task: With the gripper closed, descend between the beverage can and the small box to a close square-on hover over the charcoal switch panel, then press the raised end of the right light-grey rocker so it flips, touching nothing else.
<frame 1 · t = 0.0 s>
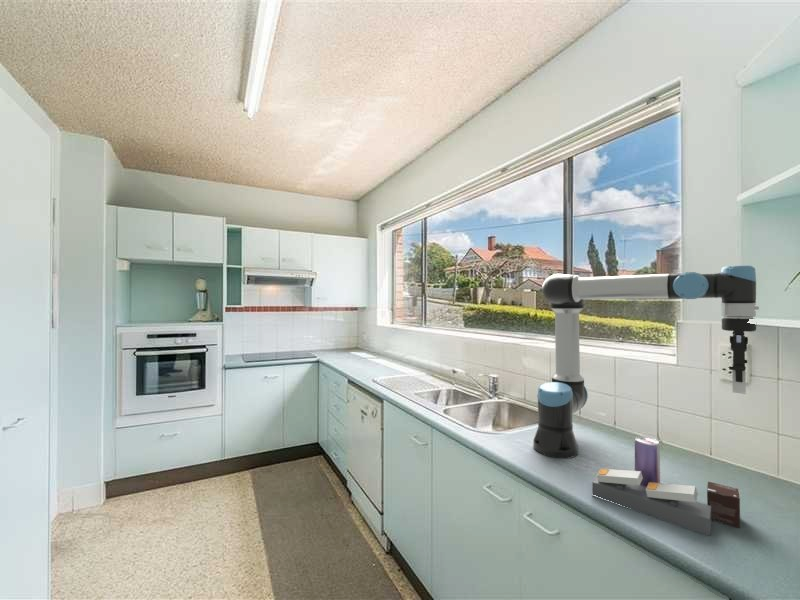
hand: (738, 388, 107), 28 cm above the worktop, fingers open, 13 cm apart
rocker right: (671, 491, 91), point 6 cm above the worktop, hinge at -14.0°
box: (723, 519, 90), on the worktop
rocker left: (619, 476, 99), point 6 cm above the worktop, hinge at -14.0°
beverage can: (647, 493, 102), on the worktop
switch panel: (648, 508, 95), on the worktop
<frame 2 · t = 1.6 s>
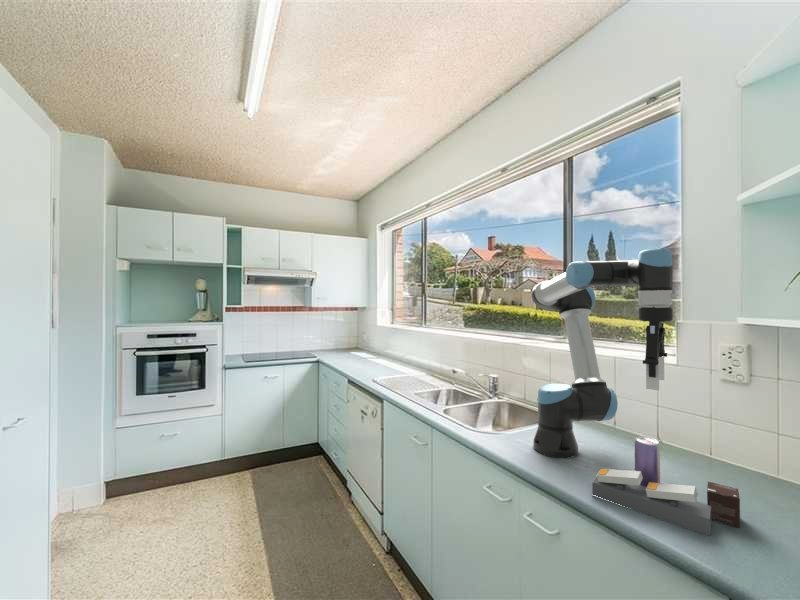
hand: (655, 384, 98), 32 cm above the worktop, fingers open, 13 cm apart
nothing on the worktop moved.
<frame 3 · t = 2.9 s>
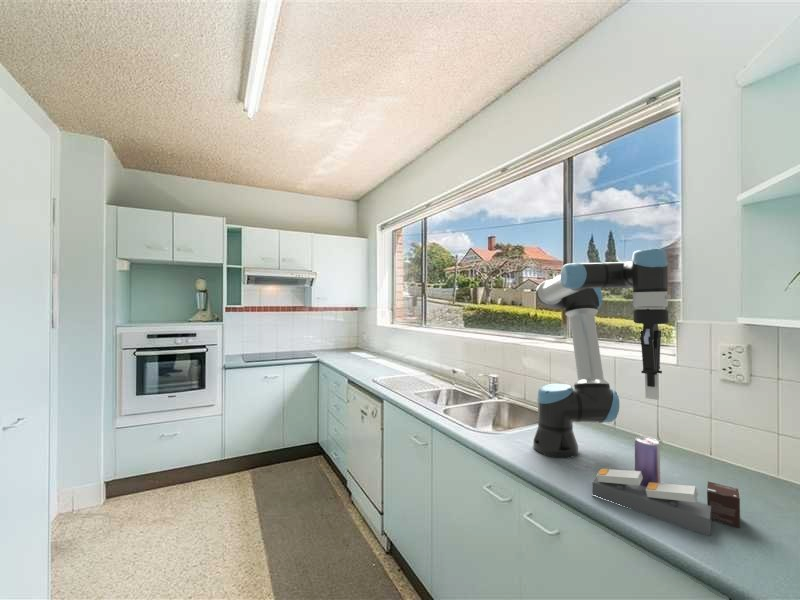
hand: (652, 398, 94), 29 cm above the worktop, fingers closed
nothing on the worktop moved.
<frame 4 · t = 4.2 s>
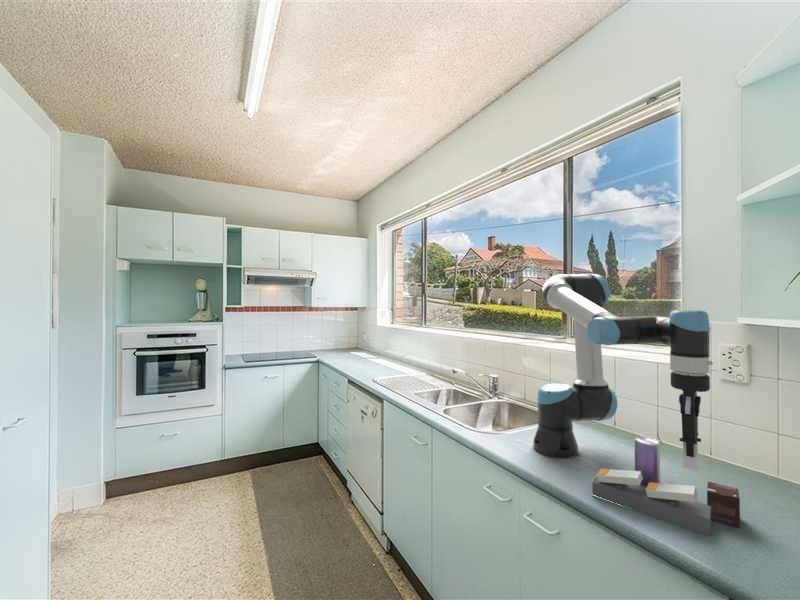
hand: (690, 467, 88), 14 cm above the worktop, fingers closed
nothing on the worktop moved.
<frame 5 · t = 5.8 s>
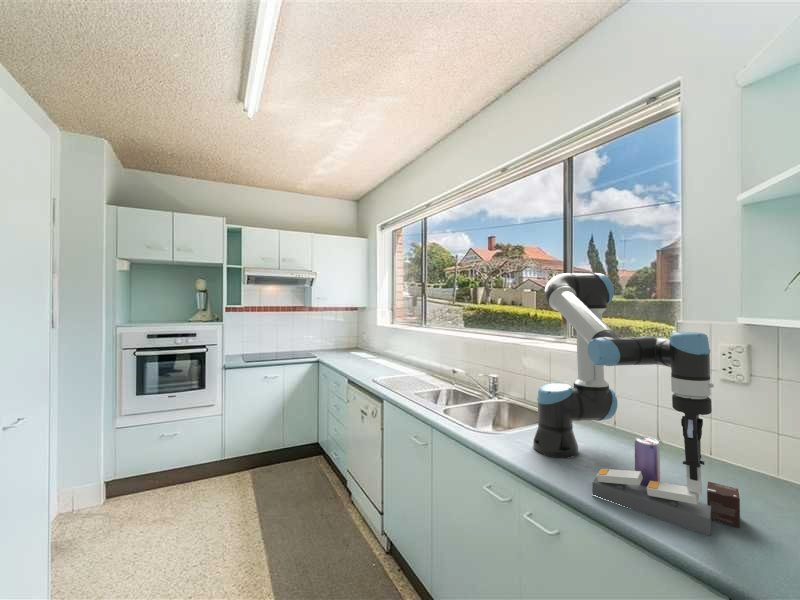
hand: (694, 491, 88), 8 cm above the worktop, fingers closed
rocker right: (672, 491, 91), point 6 cm above the worktop, hinge at -8.5°, touching gripper
everything else where it was.
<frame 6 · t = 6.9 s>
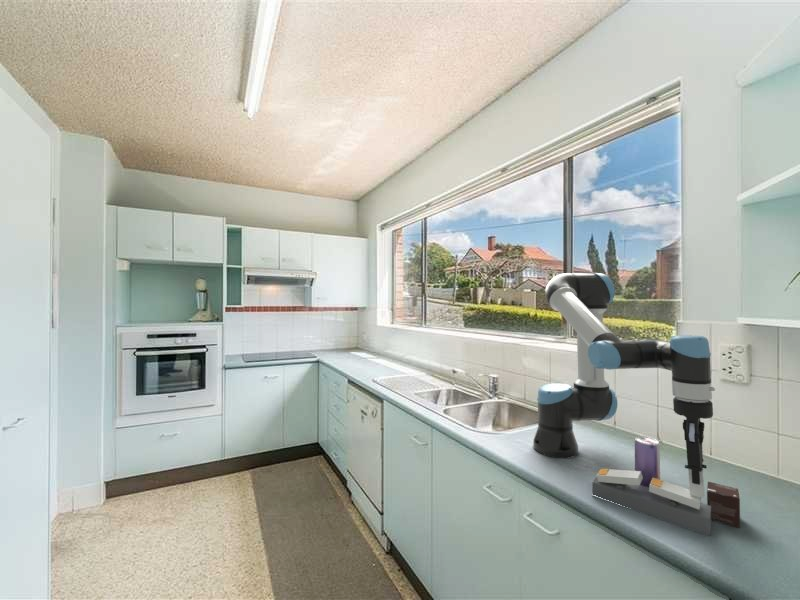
hand: (697, 495, 88), 7 cm above the worktop, fingers closed
rocker right: (674, 492, 91), point 6 cm above the worktop, hinge at 4.2°, touching gripper
everything else where it was.
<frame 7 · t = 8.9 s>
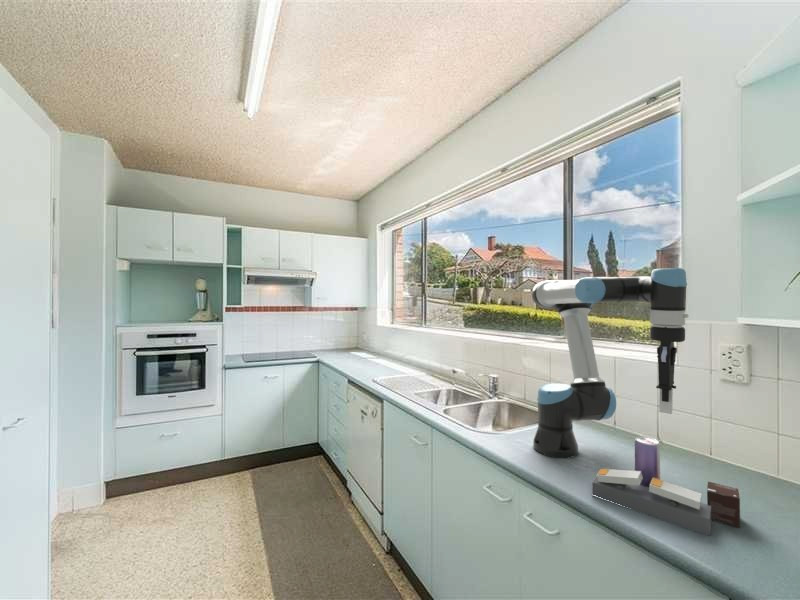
hand: (665, 412, 97), 25 cm above the worktop, fingers closed
rocker right: (674, 492, 91), point 6 cm above the worktop, hinge at 4.2°
everything else where it was.
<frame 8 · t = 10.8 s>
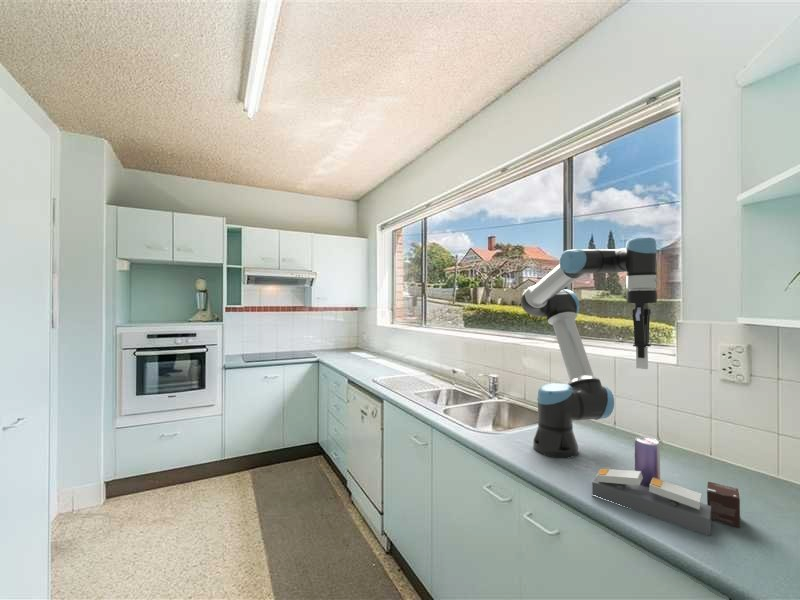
hand: (642, 368, 108), 34 cm above the worktop, fingers closed
nothing on the worktop moved.
at the end: rocker right at +4° (first picture: -14°); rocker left at -14° (first picture: -14°); beverage can moved 0.2 cm from its start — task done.
